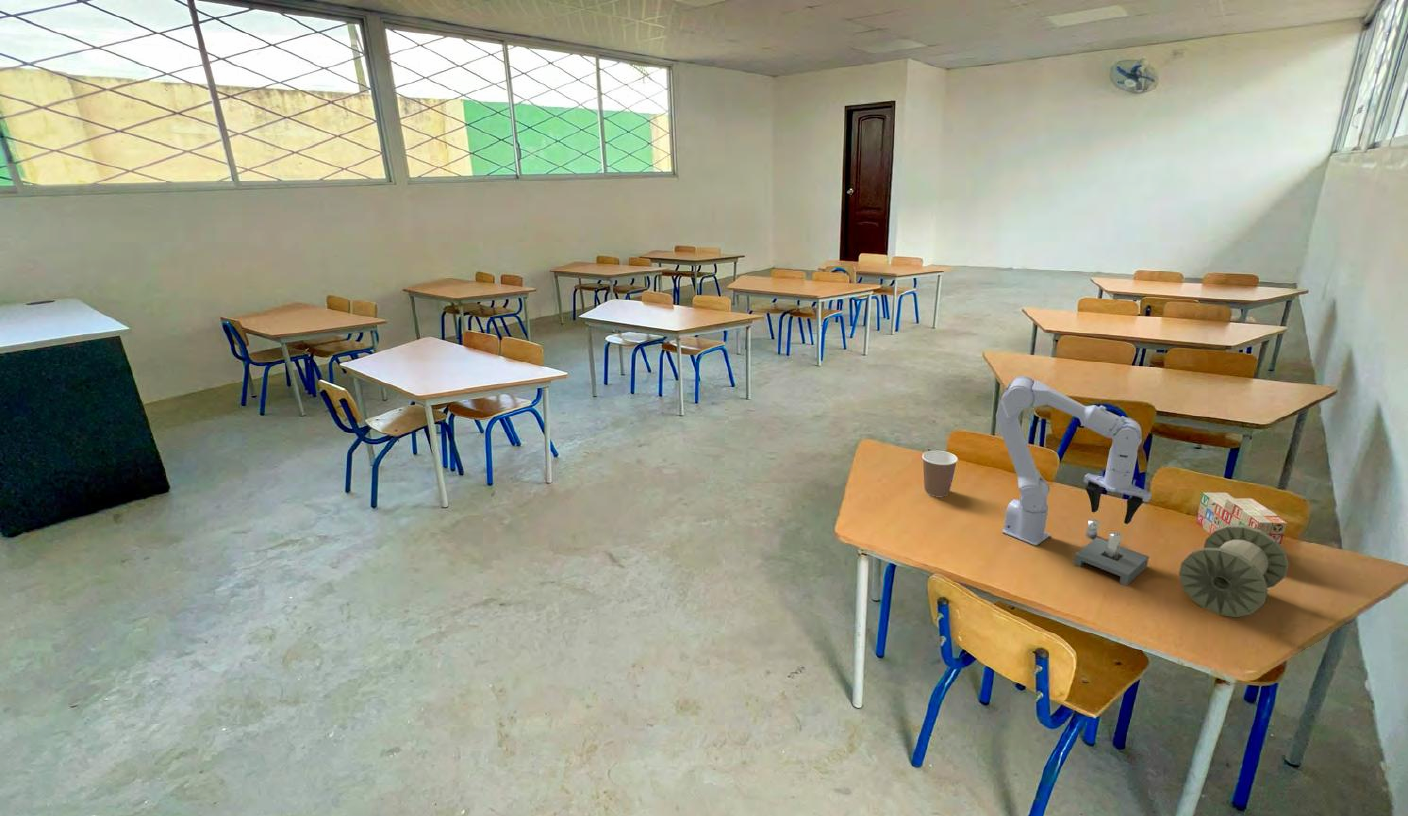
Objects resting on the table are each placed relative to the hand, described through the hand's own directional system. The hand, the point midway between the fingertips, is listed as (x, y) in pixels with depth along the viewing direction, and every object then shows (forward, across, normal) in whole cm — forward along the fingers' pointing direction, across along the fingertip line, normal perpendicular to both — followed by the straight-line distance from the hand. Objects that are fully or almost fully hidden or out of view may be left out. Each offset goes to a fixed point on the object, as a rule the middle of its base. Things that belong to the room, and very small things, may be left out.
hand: (1110, 516), depth 162 cm
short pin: (+10, -6, +6) cm, 13 cm away
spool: (+11, +26, +1) cm, 28 cm away
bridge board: (+10, +4, -5) cm, 12 cm away
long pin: (+10, +4, -6) cm, 12 cm away
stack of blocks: (+11, +19, +29) cm, 37 cm away
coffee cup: (+11, -47, -3) cm, 49 cm away
